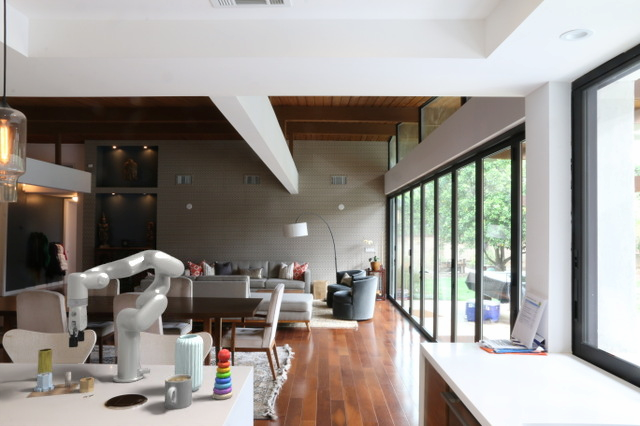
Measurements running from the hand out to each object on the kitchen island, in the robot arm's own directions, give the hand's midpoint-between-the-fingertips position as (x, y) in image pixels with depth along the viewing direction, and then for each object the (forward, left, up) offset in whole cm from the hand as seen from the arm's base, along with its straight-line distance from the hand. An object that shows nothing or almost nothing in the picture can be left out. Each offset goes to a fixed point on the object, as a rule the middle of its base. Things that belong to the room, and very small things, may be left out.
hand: (76, 344), depth 185 cm
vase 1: (+16, -19, -20) cm, 32 cm away
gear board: (+8, -2, -20) cm, 22 cm away
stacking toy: (-58, +22, -20) cm, 65 cm away
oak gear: (-5, +3, -20) cm, 21 cm away
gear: (+12, -4, -18) cm, 23 cm away
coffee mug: (-40, +27, -20) cm, 52 cm away
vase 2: (-45, +9, -20) cm, 50 cm away
